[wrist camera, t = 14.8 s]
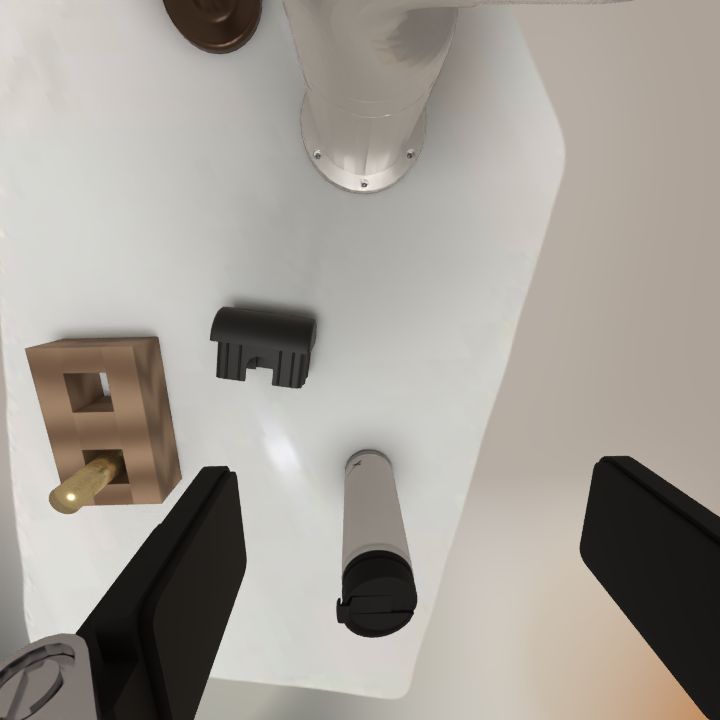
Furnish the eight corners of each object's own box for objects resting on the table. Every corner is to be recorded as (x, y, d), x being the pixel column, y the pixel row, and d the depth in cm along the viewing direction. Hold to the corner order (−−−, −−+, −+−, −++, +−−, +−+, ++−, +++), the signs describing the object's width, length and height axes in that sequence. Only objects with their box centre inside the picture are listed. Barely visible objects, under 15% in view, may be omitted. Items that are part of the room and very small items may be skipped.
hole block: (63, 339, 41) (24, 348, 36) (158, 337, 41) (132, 346, 36) (97, 481, 46) (67, 506, 41) (181, 478, 46) (161, 503, 41)
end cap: (318, 315, 41) (312, 325, 35) (311, 372, 43) (304, 391, 36) (233, 302, 40) (210, 309, 34) (229, 361, 42) (207, 378, 36)
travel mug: (343, 448, 45) (337, 582, 26) (393, 450, 46) (424, 584, 26) (341, 490, 47) (334, 645, 28) (390, 491, 47) (417, 646, 28)
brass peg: (118, 434, 44) (45, 487, 34) (142, 434, 44) (77, 486, 34) (123, 456, 45) (53, 514, 34) (146, 455, 45) (84, 513, 34)
